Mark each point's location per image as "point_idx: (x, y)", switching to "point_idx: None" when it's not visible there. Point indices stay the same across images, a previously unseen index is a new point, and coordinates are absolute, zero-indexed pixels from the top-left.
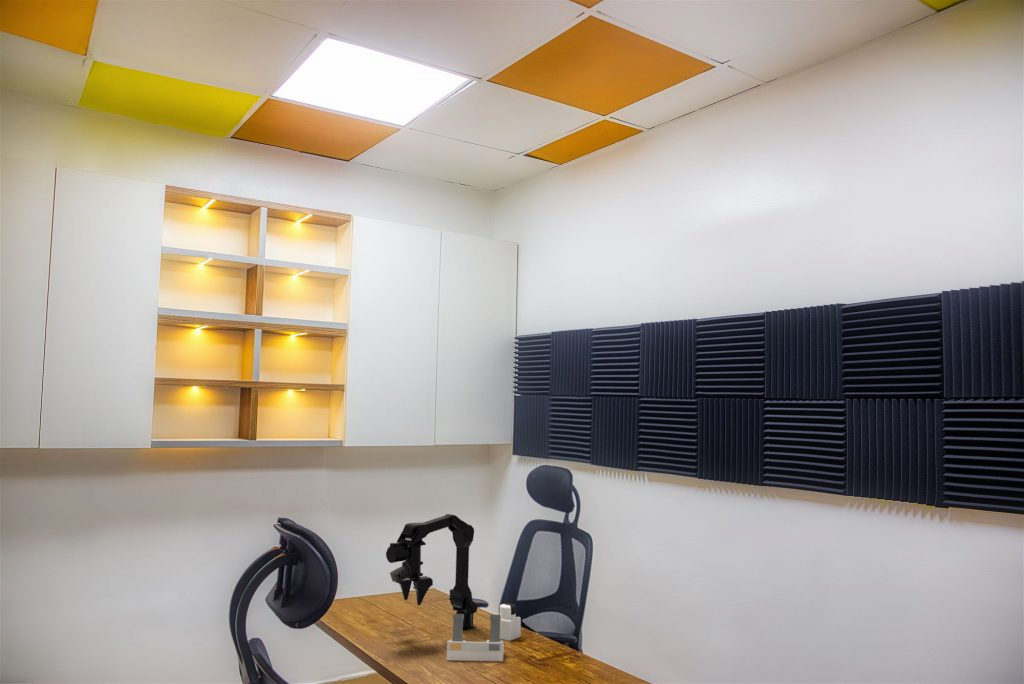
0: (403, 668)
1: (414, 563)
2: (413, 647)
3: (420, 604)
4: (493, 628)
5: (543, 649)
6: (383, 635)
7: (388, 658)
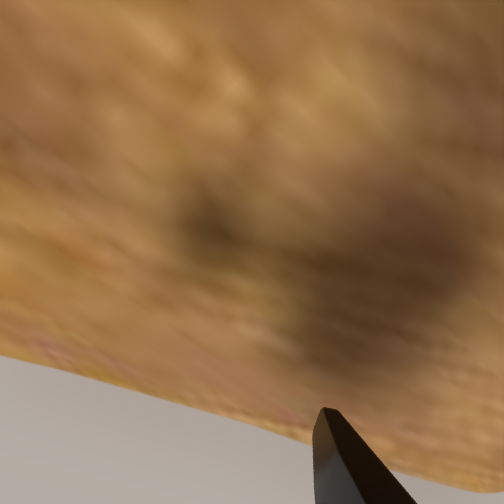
0: (461, 454)
1: None
2: (303, 269)
3: (338, 413)
4: None
5: None
6: (32, 236)
7: None
